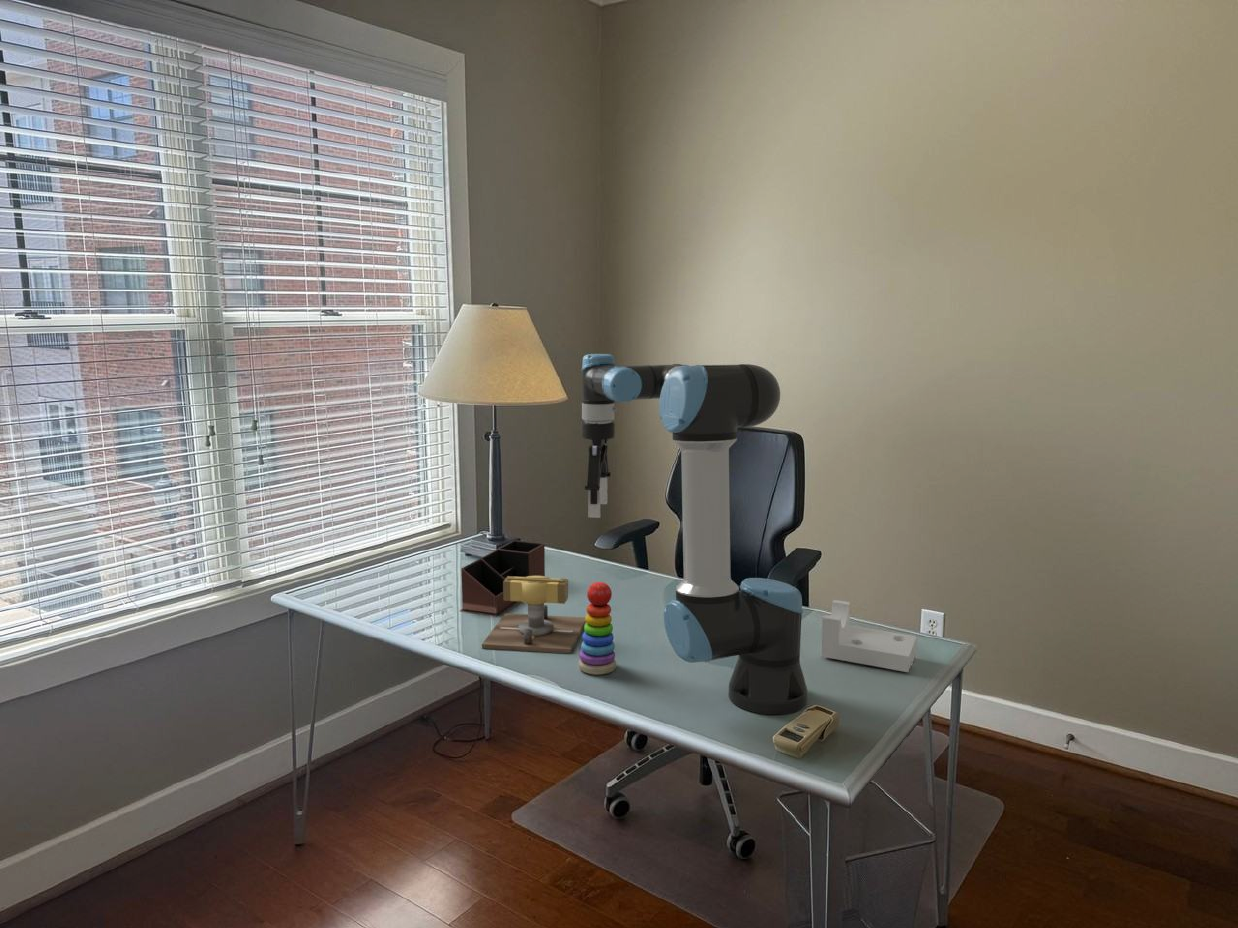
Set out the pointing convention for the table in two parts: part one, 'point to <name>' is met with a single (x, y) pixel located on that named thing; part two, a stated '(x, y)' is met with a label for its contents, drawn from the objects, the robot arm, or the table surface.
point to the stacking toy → (598, 633)
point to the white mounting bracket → (864, 642)
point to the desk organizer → (499, 576)
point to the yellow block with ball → (535, 589)
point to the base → (535, 631)
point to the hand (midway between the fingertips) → (598, 510)
